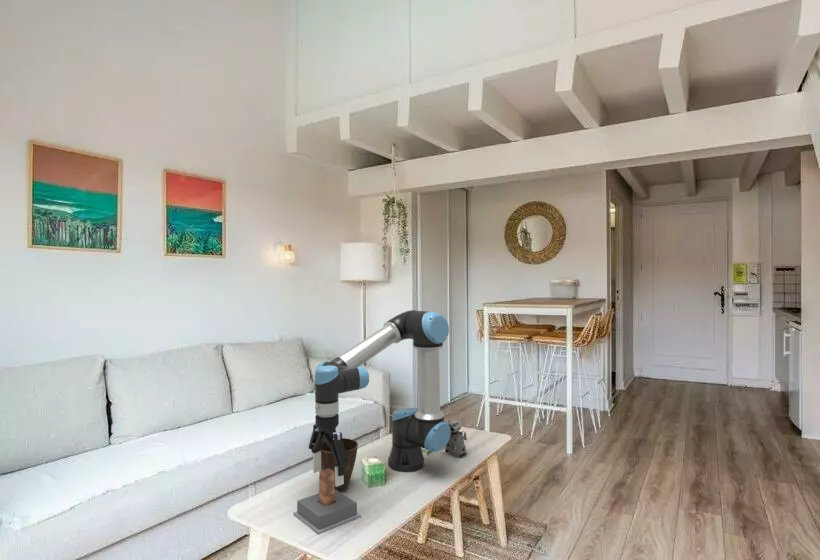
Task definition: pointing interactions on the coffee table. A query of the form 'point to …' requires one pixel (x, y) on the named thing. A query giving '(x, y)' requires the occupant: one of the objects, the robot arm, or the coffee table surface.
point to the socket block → (326, 512)
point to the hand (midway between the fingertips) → (327, 478)
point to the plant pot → (330, 463)
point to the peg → (326, 487)
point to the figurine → (456, 439)
